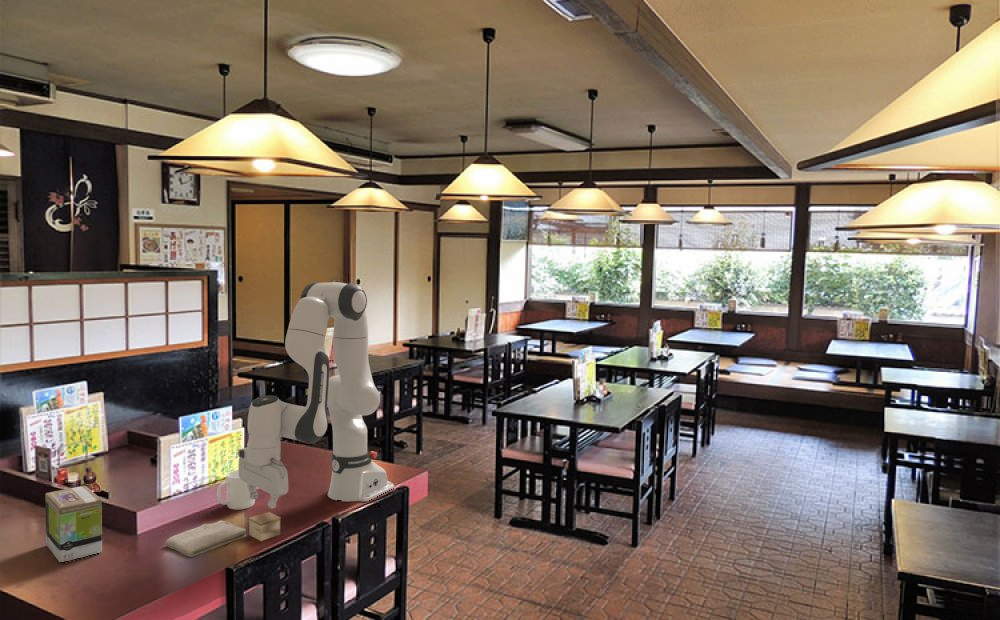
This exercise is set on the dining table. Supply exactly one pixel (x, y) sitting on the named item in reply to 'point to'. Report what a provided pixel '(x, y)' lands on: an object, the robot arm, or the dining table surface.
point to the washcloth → (205, 538)
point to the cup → (235, 492)
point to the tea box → (73, 523)
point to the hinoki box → (264, 526)
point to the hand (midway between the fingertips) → (262, 502)
